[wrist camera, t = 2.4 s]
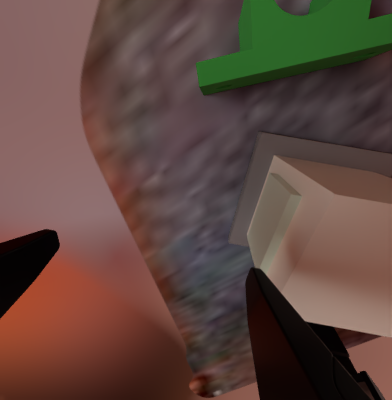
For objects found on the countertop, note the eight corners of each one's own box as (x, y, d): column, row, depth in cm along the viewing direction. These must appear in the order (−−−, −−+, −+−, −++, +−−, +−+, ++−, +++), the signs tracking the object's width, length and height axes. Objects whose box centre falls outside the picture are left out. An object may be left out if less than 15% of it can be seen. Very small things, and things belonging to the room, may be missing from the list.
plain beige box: (328, 255, 19) (411, 357, 11) (228, 237, 19) (237, 324, 11) (392, 153, 14) (626, 203, 6) (258, 131, 14) (314, 150, 6)
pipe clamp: (374, -14, 11) (476, -96, 7) (361, 61, 12) (437, 33, 8) (194, 35, 12) (185, -5, 8) (203, 95, 14) (199, 86, 10)
